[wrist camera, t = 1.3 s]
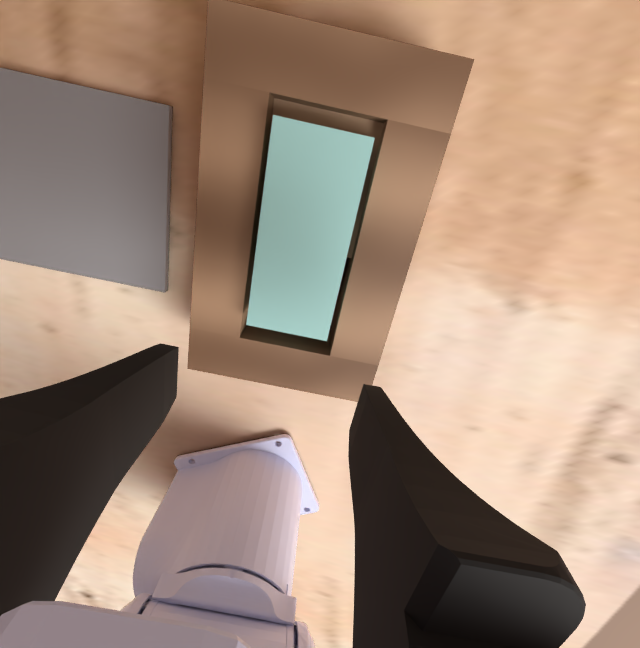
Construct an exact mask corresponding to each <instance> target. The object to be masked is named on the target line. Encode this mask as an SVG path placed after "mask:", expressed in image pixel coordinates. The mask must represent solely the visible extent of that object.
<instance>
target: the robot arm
mask: <svg viewBox="0 0 640 648" xmlns="http://www.w3.org/2000/svg"><path fill="white" fill-rule="evenodd" d="M178 348H179V347H175V346H170V345H165V344H158V345H155V346H152V347H150V348H147V349H145V350H143V351H140V352H138V353H136V354H133V355H131V356H129V357H126V358H124V359H121V360H119V361H117V362H114V363H112V364H110V365H107V366H105V367H102V368H99V369H97V370H94V371H91V372H89V373H86V374H83V375H81V376H78V377H75V378H72V379H70V380H67V381H64V382H60V383H57V384H54V385H51V386H47V387H44V388H40V389H37V390H33V391H30V392H26V393H22V394H17V395H13V396H9V397H4V398H0V648H315V643H314V640H313V638H312V636H311V634H310V633H309V630H308V627H307V625H306V623H304V622H297V621H295V611H296V600H297V599H296V598H295V597H292V596H291V593H292V584H293V575H294V566H295V556H296V547H297V538H298V529H299V519H300V515H303V514H309V513H314V512H317V511H318V510H319V503H318V501H317V498H316V496H315V493H314V491H313V488H312V486H311V484H310V481H309V479H308V476H307V474H306V472H305V469H304V467H303V464H302V462H301V459H300V457H299V455H298V452H297V450H296V447H295V445H294V443H293V440H292V438H291V436H289V435H287V434H282V435H277V436H272V437H267V438H262V439H258V440H253V441H248V442H243V443H238V444H233V445H228V446H224V447H219V448H214V449H209V450H204V451H199V452H195V453H190V454H185V455H180V456H177V457H176V458H175V460H174V465H175V466H176V468H177V470H178V471H177V473H176V475H175V477H174V479H173V481H172V483H171V485H170V486H169V488H168V490H167V492H166V494H165V496H164V498H163V500H162V502H161V504H160V505H159V507H158V509H157V511H156V513H155V515H154V517H153V519H152V521H151V522H150V524H149V526H148V528H147V530H146V532H145V534H144V536H143V538H142V540H141V542H140V545H139V548H138V551H137V555H136V559H135V565H134V572H133V588H134V594H135V598H134V600H133V601H131V602H130V603H129V604H127V605H126V606H125V607H124V608H123V609H122V610H121V611H117V610H111V609H105V608H99V607H93V606H87V605H81V604H75V603H69V602H63V601H55V599H56V597H57V595H58V593H59V591H60V589H61V587H62V585H63V583H64V581H65V579H66V577H67V576H68V574H69V572H70V570H71V568H72V566H73V564H74V562H75V560H76V558H77V556H78V555H79V553H80V551H81V549H82V547H83V545H84V544H85V542H86V540H87V538H88V536H89V535H90V533H91V531H92V529H93V527H94V526H95V524H96V522H97V520H98V518H99V517H100V515H101V513H102V511H103V510H104V508H105V506H106V505H107V503H108V501H109V499H110V498H111V496H112V494H113V493H114V491H115V489H116V488H117V486H118V485H119V483H120V482H121V480H122V479H123V477H124V476H125V474H126V473H127V472H128V470H129V469H130V467H131V466H132V465H133V463H134V462H135V461H136V459H137V458H138V456H139V455H140V454H141V452H142V451H143V449H144V448H145V447H146V445H147V444H148V443H149V441H150V440H151V438H152V437H153V436H154V434H155V433H156V431H157V430H158V429H159V427H160V426H161V424H162V423H163V421H164V419H165V418H166V416H167V414H168V412H169V410H170V408H171V406H172V404H173V402H174V400H175V399H176V395H177V372H178ZM276 441H279V442H281V443H277V442H276ZM192 459H193V460H192ZM349 468H350V479H351V490H352V500H353V511H354V524H355V587H354V624H353V648H559V647H560V646H561V645H562V644H563V643H564V642H565V640H566V639H567V638H568V637H569V636H570V635H571V634H572V633H573V632H574V631H575V629H576V628H577V627H578V625H579V624H580V622H581V621H582V619H583V616H584V612H585V606H586V604H585V601H584V598H583V594H582V593H581V591H580V589H579V587H578V586H577V584H576V582H575V581H574V579H573V577H572V575H571V574H570V572H569V570H568V568H567V567H566V565H565V563H564V561H563V560H562V558H561V556H560V555H559V553H558V552H557V551H556V550H554V549H553V548H551V547H550V546H548V545H547V544H545V543H544V542H542V541H541V540H539V539H537V538H536V537H534V536H533V535H531V534H530V533H528V532H527V531H525V530H524V529H522V528H521V527H519V526H517V525H516V524H515V523H513V522H512V521H510V520H509V519H508V518H506V517H505V516H504V515H502V514H501V513H499V512H498V511H497V510H495V509H494V508H493V507H491V506H490V505H489V504H488V503H486V502H485V501H484V500H482V499H481V498H480V497H479V496H477V495H476V494H475V493H474V492H473V491H472V490H470V489H469V488H468V487H467V486H466V485H465V484H463V483H462V482H461V481H460V480H459V479H458V478H457V477H455V476H454V475H453V474H452V473H451V472H450V471H449V470H448V469H447V468H446V467H445V466H444V465H443V464H442V463H441V462H440V461H439V460H438V459H437V458H436V457H435V456H434V455H433V454H432V453H431V452H430V451H429V449H428V448H427V447H426V446H425V445H424V444H423V443H422V441H421V440H420V439H419V438H418V437H417V436H416V434H415V433H414V432H413V431H412V429H411V428H410V427H409V426H408V424H407V423H406V422H405V420H404V419H403V418H402V416H401V415H400V414H399V412H398V411H397V409H396V408H395V407H394V405H393V404H392V402H391V401H390V399H389V398H388V397H387V395H386V394H385V392H384V391H383V390H382V388H381V387H377V386H372V385H367V384H363V387H362V390H361V394H360V397H359V400H358V403H357V407H356V410H355V413H354V417H353V420H352V423H351V427H350V430H349ZM306 507H308V508H306ZM294 621H295V622H294Z"/></svg>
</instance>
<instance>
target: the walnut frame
mask: <svg viewBox="0 0 640 648" xmlns="http://www.w3.org/2000/svg"><path fill="white" fill-rule="evenodd" d="M473 62H474V59H470V58H466V57H462V56H458V55H454V54H449V53H445V52H441V51H437V50H433V49H428V48H424V47H420V46H416V45H412V44H407V43H403V42H399V41H395V40H391V39H386V38H382V37H378V36H374V35H370V34H365V33H361V32H357V31H353V30H349V29H344V28H340V27H336V26H332V25H328V24H324V23H319V22H315V21H311V20H307V19H303V18H298V17H294V16H290V15H286V14H282V13H277V12H273V11H269V10H265V9H261V8H256V7H252V6H248V5H244V4H240V3H235V2H231V1H227V0H208V9H207V27H206V45H205V64H204V82H203V100H202V118H201V136H200V154H199V172H198V190H197V208H196V226H195V244H194V262H193V280H192V298H191V316H190V334H189V352H188V369H192V370H197V371H202V372H208V373H213V374H218V375H223V376H228V377H233V378H238V379H243V380H248V381H254V382H259V383H264V384H269V385H274V386H279V387H284V388H289V389H294V390H299V391H305V392H310V393H315V394H320V395H325V396H330V397H335V398H340V399H345V400H351V401H356V402H358V400H359V397H360V394H361V390H362V387H363V384H367V385H372V384H373V380H374V377H375V374H376V371H377V368H378V365H379V361H380V358H381V355H382V352H383V349H384V345H385V342H386V339H387V336H388V333H389V329H390V326H391V323H392V320H393V317H394V314H395V310H396V307H397V304H398V301H399V298H400V294H401V291H402V288H403V285H404V282H405V278H406V275H407V272H408V269H409V266H410V262H411V259H412V256H413V253H414V250H415V247H416V243H417V240H418V237H419V234H420V231H421V227H422V224H423V221H424V218H425V215H426V211H427V208H428V205H429V202H430V199H431V196H432V192H433V189H434V186H435V183H436V180H437V176H438V173H439V170H440V167H441V164H442V160H443V157H444V154H445V151H446V148H447V144H448V141H449V138H450V135H451V132H452V129H453V125H454V122H455V119H456V116H457V113H458V109H459V106H460V103H461V100H462V97H463V93H464V90H465V87H466V84H467V81H468V78H469V74H470V71H471V68H472V65H473ZM273 115H276V116H281V117H285V118H290V119H294V120H298V121H303V122H307V123H312V124H316V125H321V126H325V127H329V128H334V129H338V130H343V131H347V132H351V133H356V134H360V135H365V136H369V137H373V138H375V139H374V144H373V148H372V152H371V156H370V161H369V165H368V169H367V173H366V178H365V182H364V186H363V190H362V194H361V199H360V203H359V207H358V211H357V216H356V220H355V224H354V228H353V233H352V237H351V241H350V245H349V249H348V254H347V259H346V264H345V268H344V272H343V276H342V280H341V285H340V289H339V293H338V297H337V302H336V306H335V310H334V314H333V319H332V323H331V326H330V330H329V334H328V338H327V341H323V340H318V339H313V338H308V337H304V336H299V335H294V334H289V333H284V332H279V331H274V330H269V329H264V328H259V327H254V326H249V325H246V322H247V315H248V307H249V299H250V291H251V283H252V275H253V268H254V260H255V252H256V244H257V236H258V228H259V221H260V213H261V205H262V197H263V189H264V181H265V174H266V166H267V158H268V150H269V142H270V134H271V127H272V119H273Z"/></svg>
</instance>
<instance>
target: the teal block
mask: <svg viewBox="0 0 640 648" xmlns="http://www.w3.org/2000/svg"><path fill="white" fill-rule="evenodd" d="M374 139H375V138H373V137H369V136H365V135H360V134H356V133H351V132H347V131H343V130H338V129H334V128H329V127H325V126H321V125H316V124H312V123H307V122H303V121H298V120H294V119H290V118H285V117H281V116H276V115H273V119H272V127H271V134H270V142H269V150H268V158H267V166H266V174H265V181H264V189H263V197H262V205H261V213H260V221H259V228H258V236H257V244H256V252H255V260H254V268H253V275H252V283H251V291H250V299H249V307H248V315H247V322H246V325H249V326H254V327H259V328H264V329H269V330H274V331H279V332H284V333H289V334H294V335H299V336H304V337H308V338H313V339H318V340H323V341H327V338H328V334H329V330H330V326H331V321H332V317H333V313H334V309H335V305H336V300H337V296H338V292H339V288H340V283H341V279H342V275H343V271H344V266H345V262H346V258H347V254H348V249H349V245H350V241H351V237H352V233H353V228H354V224H355V220H356V216H357V211H358V207H359V203H360V199H361V194H362V190H363V186H364V182H365V178H366V173H367V169H368V165H369V161H370V156H371V152H372V148H373V144H374Z"/></svg>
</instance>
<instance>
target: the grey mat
mask: <svg viewBox="0 0 640 648" xmlns="http://www.w3.org/2000/svg"><path fill="white" fill-rule="evenodd" d="M172 109H173V107H172V106H169V105H165V104H160V103H156V102H151V101H147V100H142V99H138V98H133V97H129V96H125V95H120V94H116V93H111V92H107V91H102V90H98V89H93V88H89V87H85V86H80V85H76V84H71V83H67V82H62V81H58V80H54V79H49V78H45V77H40V76H36V75H31V74H27V73H22V72H18V71H14V70H9V69H5V68H0V259H3V260H8V261H13V262H18V263H23V264H28V265H33V266H38V267H43V268H47V269H52V270H57V271H62V272H67V273H72V274H77V275H82V276H87V277H92V278H97V279H101V280H106V281H111V282H116V283H121V284H126V285H131V286H136V287H141V288H146V289H150V290H155V291H160V292H166V291H168V264H169V225H170V186H171V148H172Z"/></svg>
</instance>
